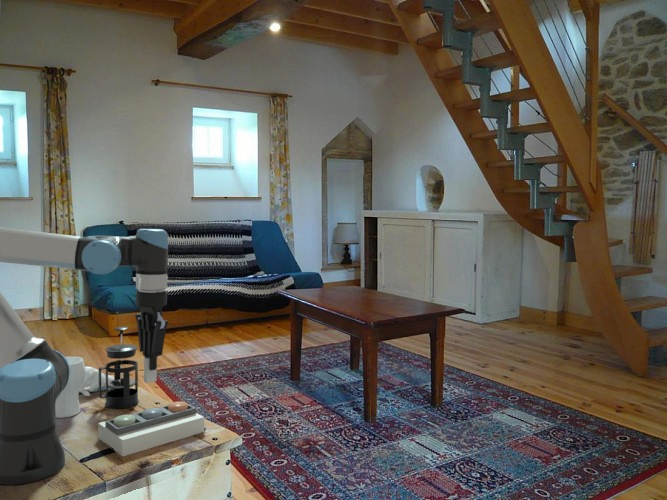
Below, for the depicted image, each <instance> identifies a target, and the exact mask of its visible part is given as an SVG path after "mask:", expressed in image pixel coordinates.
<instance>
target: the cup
mask: <svg viewBox="0 0 667 500" xmlns="http://www.w3.org/2000/svg"><path fill="white" fill-rule="evenodd" d="M64 357H65V358H66V359H67V361H68V364H69V368H70V374H69V379H68V383H67V385H66V387H65V388H64V390H63V391H62V392H61V393H60V395H59V396H58V398H57V399H56V403H55V412H56V418H57V419H58V418H59V419H61V418H68V417H73V416H76V415H78V414H79V413H80V412H81V405H80V401H79V395H80V391H79V390H80V388H81V386H82V384H83V381H84V378H85V367H86V365H85V361H84V359H83V357H81V356H64Z"/></svg>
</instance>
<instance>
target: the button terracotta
mask: <svg viewBox="0 0 667 500" xmlns="http://www.w3.org/2000/svg"><path fill="white" fill-rule="evenodd" d="M188 404H189V403H187V402H186V401H183V402H182V401H173V402H170V403H169V404H168V411H170V412H172V413H176V412H180V411H184V410H188Z"/></svg>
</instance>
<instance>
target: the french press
mask: <svg viewBox="0 0 667 500" xmlns="http://www.w3.org/2000/svg"><path fill="white" fill-rule="evenodd" d="M129 329H130V328H129V327H128V326H117V327H115V328H113V330H114V331H119V335H120V344H114V345H110V346H107V347H105V349H104V350H105V352H106V357H107V358H108V359H109V358H110V359H112V360H113V359H115V360H113V361H110V362H107V363H106V364H105V365H104V366H101V367H98V371H99V388H98V398H100V399H105V402H104V406H105V408H107V409H112V410H123V409H128V408H133V407H135V406H137V405H138V404H139V401H140V400H139V391H138V390H139V387H138V386H139V384H138V383H139V382H138V381H139V380H138V379H139V378H138V377H139V375H138V374H139V371H138V369H139V366H138V365H139V364H138V361H137V360H131V359H129V358H133V357H134V356H135V355H136V352H137V350H138V348H139V346H137V345H136V344H126V343H125V344H123V335H124V331H128V330H129ZM117 359H119V360H117ZM123 365H132V366H127V367H123ZM113 366H114V367H113ZM103 370H105V375H106V389H105V394H103V395H102V387H101V372H102V371H103ZM132 371H134V373H135V376H134V378H135V379H134V378H131V377H130V372H132ZM109 373H113V374H114V380H111V381H109V382H108V375H109ZM134 386H135V387H134ZM108 387H109V388H111V389H110V390H108ZM133 387H134V388H133Z"/></svg>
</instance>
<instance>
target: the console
mask: <svg viewBox="0 0 667 500" xmlns="http://www.w3.org/2000/svg"><path fill="white" fill-rule="evenodd" d="M181 402H184V401H181ZM187 404H188V410H184V411H180V412H176V413H172V412H170V411H168V405H169V404H168V405H167V404H166V405H163V406H160V407H158V408H160V409H162V416H161V417H158V418H154V419H150V420H146V419H144V418H142V411H139V412H135V413H132V414H130V415H133V416H135V424H131V425H127V426H124V427H120V428H118V427H116V426H115V425H114V418H112V419H109V420H108V419H107V420H105V421H101V422H98V425H97V427H98V430H97V431H98V439H99V440H100V441H101V442H103V443H104V444H105V443H106V444H105V445H107V446H108V445H109V446H110V447H109V446H108V447H109V448H111V447H112V448H113V449H114V450H113V449H112V448H111V449H112V450H113V451H114V452H116V453H117V454H119V455H120V456H121V457H125V456H130V455H132V454H135V453H139V452H142V451H146V450H149V449H152V448H156V447H159V446H162V445H165V444H168V443H169V444H170V443H171V442H175V441H178V440H183V439H186V438H188V437H192V436H194V435H198V434H202V433H205V417H204V415H201V414H199V413H197V407H194V406H193V405H191V404H189V403H187ZM201 432H202V433H201Z"/></svg>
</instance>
